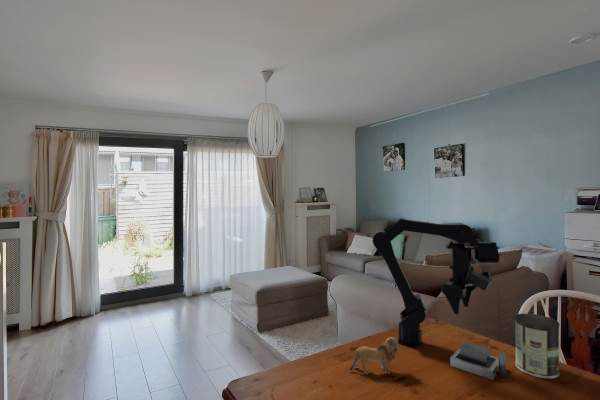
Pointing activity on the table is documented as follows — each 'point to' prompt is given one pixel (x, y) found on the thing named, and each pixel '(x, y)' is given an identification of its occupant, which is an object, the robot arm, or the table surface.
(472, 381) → the table surface
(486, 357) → the block
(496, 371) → the keeper cradle
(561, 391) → the table surface
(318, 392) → the table surface
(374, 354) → the lion figurine
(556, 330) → the coffee can
